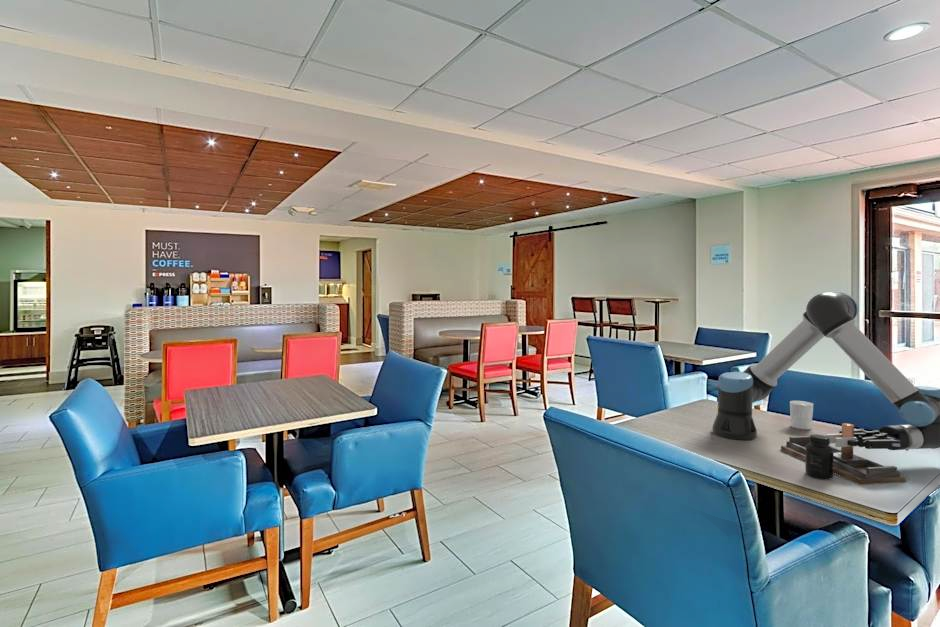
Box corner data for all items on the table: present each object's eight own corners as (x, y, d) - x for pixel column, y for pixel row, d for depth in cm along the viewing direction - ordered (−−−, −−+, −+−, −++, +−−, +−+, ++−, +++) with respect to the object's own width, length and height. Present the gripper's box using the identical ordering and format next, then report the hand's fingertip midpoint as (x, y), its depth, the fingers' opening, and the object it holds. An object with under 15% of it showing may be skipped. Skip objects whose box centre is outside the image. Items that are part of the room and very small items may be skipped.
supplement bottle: (839, 479, 142) (840, 439, 142) (817, 480, 142) (818, 440, 141) (820, 470, 149) (821, 432, 149) (799, 471, 149) (800, 433, 148)
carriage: (867, 466, 148) (868, 427, 147) (846, 467, 147) (847, 428, 147) (847, 458, 155) (848, 421, 154) (827, 459, 154) (828, 422, 154)
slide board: (905, 481, 140) (906, 466, 140) (859, 484, 139) (859, 469, 139) (820, 447, 170) (820, 435, 170) (781, 450, 169) (781, 437, 168)
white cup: (817, 430, 191) (818, 405, 191) (797, 430, 192) (798, 405, 191) (804, 424, 199) (804, 400, 199) (784, 424, 199) (785, 400, 199)
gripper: (925, 457, 145) (854, 461, 142) (874, 441, 161) (810, 444, 158) (926, 433, 145) (855, 436, 142) (875, 418, 161) (810, 421, 158)
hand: (831, 440), depth 150 cm, fingers closed on carriage, 3 cm apart
